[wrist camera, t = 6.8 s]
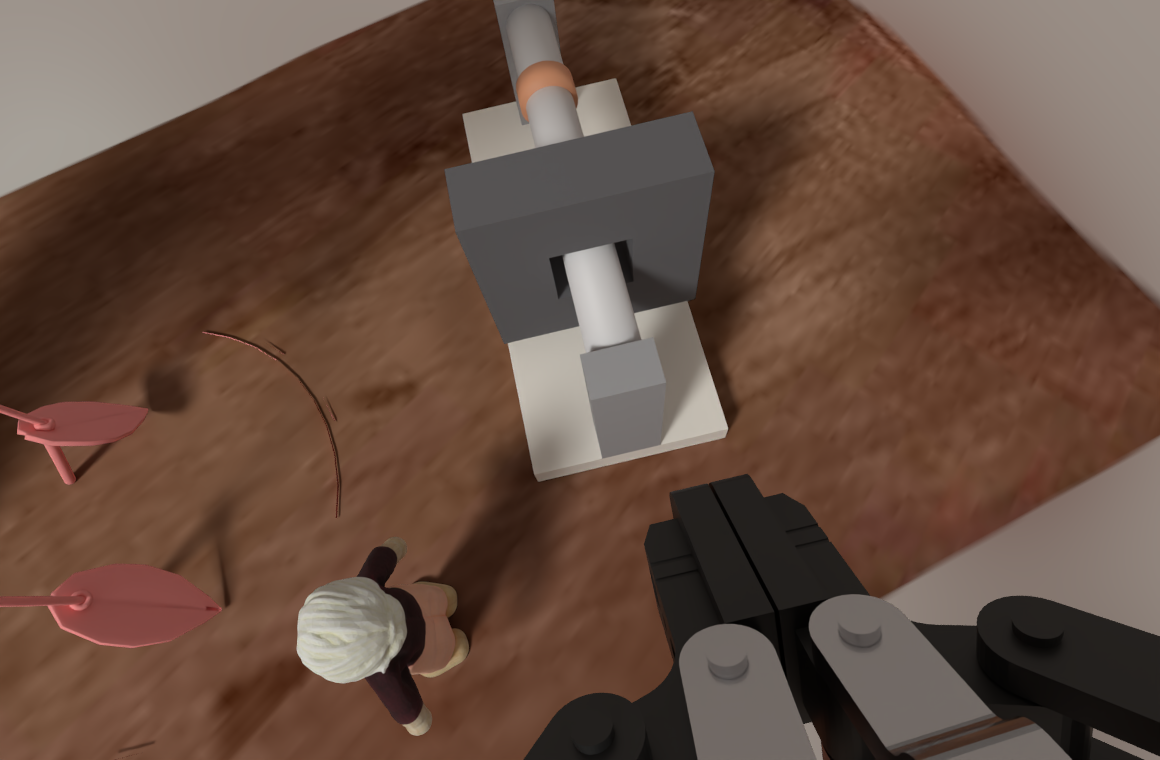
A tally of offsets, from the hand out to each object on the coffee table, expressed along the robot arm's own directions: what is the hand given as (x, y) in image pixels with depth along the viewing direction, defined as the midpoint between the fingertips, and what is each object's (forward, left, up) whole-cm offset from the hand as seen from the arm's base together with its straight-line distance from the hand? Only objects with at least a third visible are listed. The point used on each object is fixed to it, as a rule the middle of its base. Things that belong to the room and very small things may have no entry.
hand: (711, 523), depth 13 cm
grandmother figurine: (-7, +9, -22) cm, 25 cm away
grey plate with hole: (+11, +11, -18) cm, 24 cm away
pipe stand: (+14, +14, -22) cm, 29 cm away
